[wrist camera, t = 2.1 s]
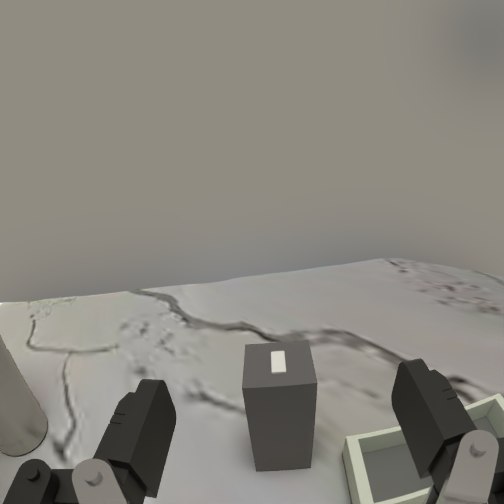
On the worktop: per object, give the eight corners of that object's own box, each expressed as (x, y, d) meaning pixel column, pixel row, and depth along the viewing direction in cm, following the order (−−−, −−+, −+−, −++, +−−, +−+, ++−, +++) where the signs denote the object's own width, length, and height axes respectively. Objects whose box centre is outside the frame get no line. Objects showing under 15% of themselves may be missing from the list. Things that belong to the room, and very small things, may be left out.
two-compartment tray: (328, 392, 32) (330, 372, 31) (457, 366, 31) (464, 347, 30) (354, 523, 16) (362, 511, 15) (517, 460, 15) (532, 442, 14)
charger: (257, 432, 28) (245, 343, 24) (305, 429, 28) (308, 338, 24) (256, 471, 23) (241, 386, 19) (310, 467, 23) (317, 381, 19)
